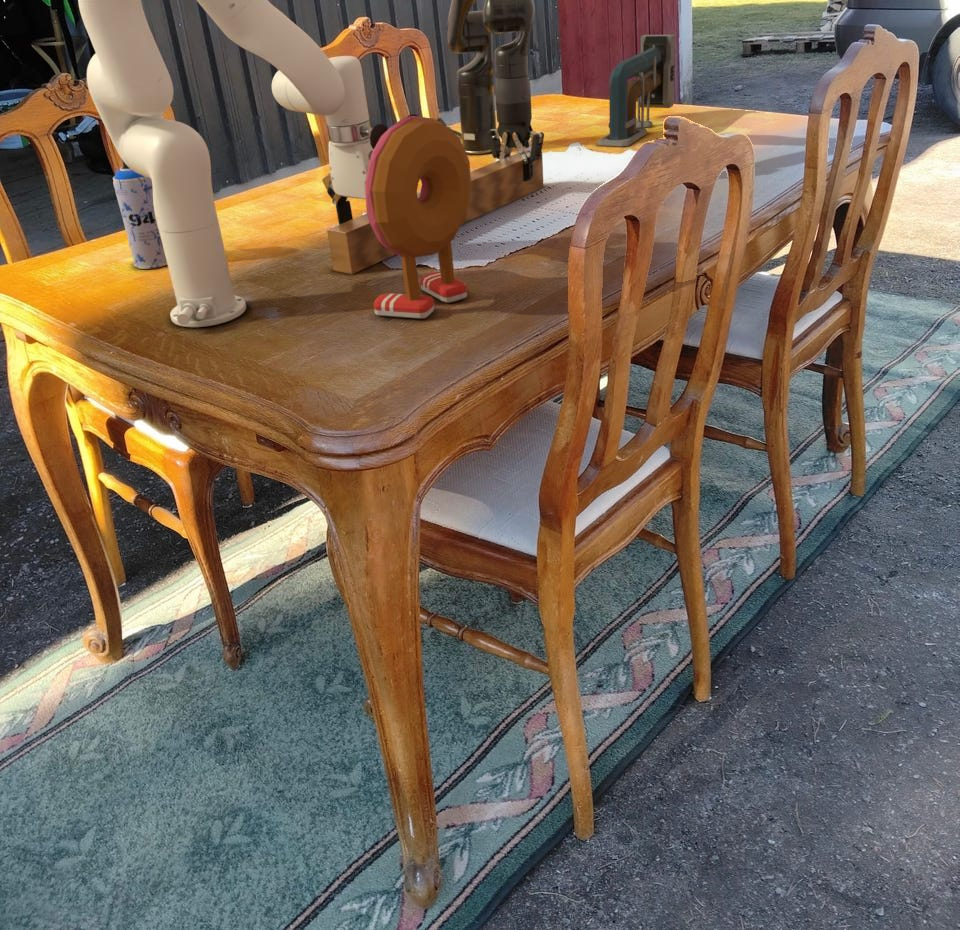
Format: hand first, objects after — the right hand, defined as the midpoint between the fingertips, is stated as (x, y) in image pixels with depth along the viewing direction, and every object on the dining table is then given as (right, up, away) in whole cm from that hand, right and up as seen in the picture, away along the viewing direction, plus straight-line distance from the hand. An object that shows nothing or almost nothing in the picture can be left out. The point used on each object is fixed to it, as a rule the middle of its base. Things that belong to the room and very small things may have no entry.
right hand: (517, 178), depth 214 cm
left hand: (-30, -19, -34) cm, 49 cm away
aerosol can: (-73, -23, -22) cm, 80 cm away
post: (-15, -14, -15) cm, 25 cm away
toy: (-17, -37, -53) cm, 67 cm away
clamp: (+34, +26, +46) cm, 63 cm away
